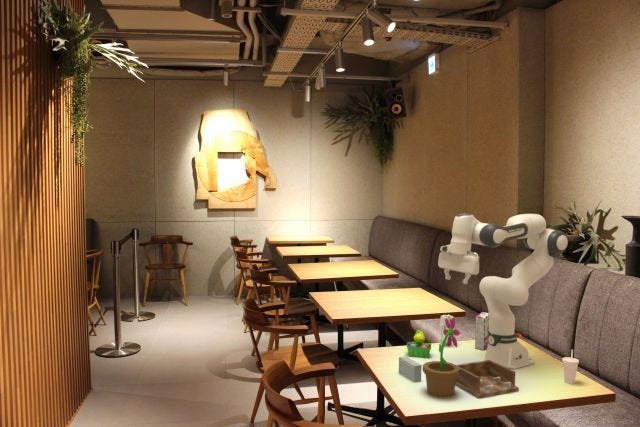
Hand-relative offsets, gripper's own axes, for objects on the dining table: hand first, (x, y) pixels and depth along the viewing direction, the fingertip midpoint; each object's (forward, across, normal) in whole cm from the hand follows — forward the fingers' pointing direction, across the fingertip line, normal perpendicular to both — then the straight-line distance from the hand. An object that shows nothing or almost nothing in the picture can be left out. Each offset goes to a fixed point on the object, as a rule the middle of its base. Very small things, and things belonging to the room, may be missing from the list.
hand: (456, 281), depth 241 cm
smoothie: (+35, -38, -34) cm, 62 cm away
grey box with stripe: (+42, +4, +18) cm, 45 cm away
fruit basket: (+40, +22, -7) cm, 46 cm away
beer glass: (+37, +25, -28) cm, 53 cm away
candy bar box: (+35, +14, -42) cm, 57 cm away
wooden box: (+39, -21, +1) cm, 45 cm away
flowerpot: (+42, -15, +20) cm, 48 cm away
